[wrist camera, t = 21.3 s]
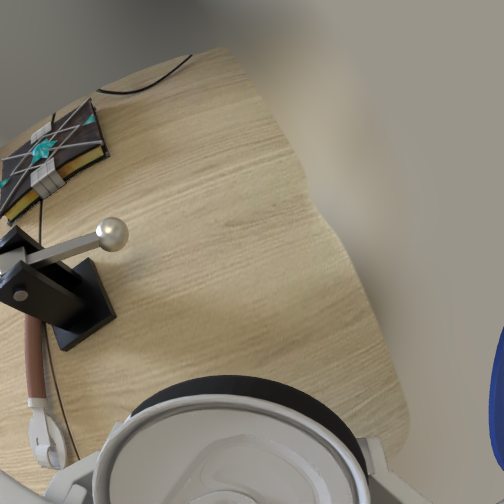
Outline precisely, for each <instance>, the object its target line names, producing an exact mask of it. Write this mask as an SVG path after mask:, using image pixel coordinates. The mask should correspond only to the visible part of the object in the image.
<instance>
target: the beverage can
mask: <svg viewBox="0 0 504 504" xmlns="http://www.w3.org/2000/svg"><path fill="white" fill-rule="evenodd" d="M368 486H369V481H368V472H367V466H366V461H365V458H364V455H363V453H362V450H361V448H360V446H359V444H358V442H357V440H356V438H355V437H354V435H353V434H352V432H351V431H350V429H349V428H348V427H347V426H346V424H345V423H344V422H343V421H342V420H341V419H340V418H339V417H338V416H337V415H336V414H335V413H334V412H333V411H332V410H330V409H329V408H328V407H326V406H325V405H324V404H322V403H321V402H319V401H318V400H316V399H315V398H313V397H311V396H310V395H308V394H306V393H304V392H302V391H300V390H297V389H295V388H293V387H290V386H288V385H285V384H282V383H279V382H275V381H271V380H267V379H262V378H258V377H251V376H240V375H218V376H208V377H201V378H196V379H192V380H188V381H184V382H181V383H178V384H175V385H173V386H170V387H168V388H166V389H164V390H162V391H159V392H158V393H156V394H155V395H153V396H151V397H150V398H148V399H147V400H145V401H144V402H143V403H142V404H140V405H139V406H138V407H137V408H136V409H135V410H134V411H133V412H132V413H131V414H130V415H129V417H128V418H127V419H126V421H125V422H124V423H123V424H122V425H121V426H120V427H119V428H118V429H117V430H116V431H115V432H114V433H113V434H112V435H111V436H110V438H109V439H108V440H107V442H106V443H105V445H104V446H103V448H102V450H101V452H100V454H99V456H98V459H97V461H96V464H95V469H94V473H93V480H92V487H93V500H94V504H371V502H370V492H369V489H368Z"/></svg>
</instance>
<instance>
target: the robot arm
mask: <svg viewBox="0 0 504 504" xmlns="http://www.w3.org/2000/svg"><path fill="white" fill-rule="evenodd" d="M123 423H124V422H122V421H117V422H116V423H115V425H114V427H113V429H112V431H111V433H110V434H109V436H108V438H107V440H108V439H109V438H110V436H111V435H112V434H113V433H114V432H115V431H116V430H117V429H118V428H119V427H120V426H121V425H122V424H123ZM107 440H106V442H107ZM356 440H357V442H358V444H359V446H360V448H361V450H362V453H363V455H364V458H365V461H366V466H367V472H368V481H369V486H368V489H369V492H370V502H371V504H432V502H431V501H429V500H428V499H427V498H426V497H424V496H423V495H422V494H420V493H419V492H418V491H417V490H415V489H414V488H413V487H412V486H410V485H409V484H408V483H407V482H405V481H404V480H403V479H402V478H401V477H399V476H398V475H397V474H395V473H394V472H393V471H388V467H387V463H386V459H385V455H384V451H383V448H382V444H381V440H380V438H379V437H378V436H374V437H367V438H357V439H356ZM106 442H105V443H106ZM104 445H105V444H104ZM100 452H101V451H99V450H97V451H95V452H94V453H92V454H90V455H88V456H87V457H85V458H83V459H81V460H79V461H77V462H76V463H74V464H72V465H70V466H68V467H66V468H64V469H62V470H60V471H59V472H57V473H55V475H54V476H53V478H52V480H51V482H50V484H49V485H48V487H47V489H46V491H45V493H44V495H43V497H42V496H40V495H39V494H37V493H35V492H34V491H32V490H30V489H29V488H27V487H26V486H24V485H23V484H21V483H20V482H18V481H16V480H15V479H14V478H12V477H11V476H9V475H8V474H6V473H5V472H4V471H2V470H1V469H0V504H94V500H93V487H92V480H93V473H94V469H95V464H96V461H97V459H98V456H99V454H100ZM497 504H504V500H502V501H500V502H499V503H497Z"/></svg>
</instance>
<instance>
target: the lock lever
mask: <svg viewBox="0 0 504 504" xmlns="http://www.w3.org/2000/svg"><path fill="white" fill-rule="evenodd" d="M128 237H129V232H128V228H127V226H126V224H125V223H124V222H123V221H122V220H121V219H119V218H115V217H109V218H106V219H104V220H103V221H102V222H101V223H100V224H99V225H98V227H97V230H96V232H93V233H90V234H87V235H84V236H81V237H78V238H75V239H72V240H69V241H66V242H63V243H60V244H57V245H54V246H51V247H49V248H46V249H43V250H40V251H38V252H35V253H32V254H29V255H27V254H26V251H25V249H24V247H23V246H22V247H20V248H17V249H14V250H12V251H9V252H6V253H4V254H1V255H0V276H1V277H2V276H3V275H4V274H6V273H7V272H8V271H9V270H10V269H11V268H12V267H13V266H14V265H15V264H16V263H18V262H19V261H20V260H22V261H24V262H25V263H26V264H28V265H29V266H31V267H32V268H34V269H35V270H36V269H38V268H41V267H44V266H47V265H49V264H52V263H55V262H58V261H60V260H63V259H66V258H69V257H72V256H75V255H77V254H80V253H83V252H86V251H89V250H92V249H95V248H98V247H101V248H102V249H103V250H105V251H108V252H116V251H119V250H121V249H122V248H123V247H124V246H125V245H126V243H127V241H128Z"/></svg>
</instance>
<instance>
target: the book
mask: <svg viewBox="0 0 504 504" xmlns="http://www.w3.org/2000/svg"><path fill="white" fill-rule="evenodd" d="M91 100H92V99H91V97H89V98H88V99H87V100H86V101H85V102H84V103H83V104H82V105H81V106H79V107H77V108H76V109H74V110H73V111H71V112H70V113H68V114H67V115H65V116H64V117H62V118H61V119H59V120H58V121H56V122H55V123H53V124H52V123H51V122H49V123H48V124H46V125H45V126H44V127H42V128H41V129H39V130H38V131H37V132H35V133H34V134H33V135H31V140H29V141H28V142H27V143H25V144H24V145H23V146H21V147H20V148H19V149H17V150H16V151H15V152H14V153H12V154H11V155H10V156H9V157H7V158H4V159H2V160H1V161H2V162H3V169H2V181H0V188H1V199H0V219H1V218H2V216H4V215H5V216H6V217H7V218H8V222H7V225H9V226H10V227H11V226H12V224H13V222H14V220H15V219H17V218H18V217H19V216H20V215H21V214H22V213H23V212H25V211H26V210H27V209H28V208H29V207H30V206H32V205H33V204H34V203H35V202H37V201H38V200H39V199H40V198H42V199H43V200H44V199H45V198H46V197H48V196H49V195H50V194H52V193H53V192H54V191H56V190H57V189H59V188H60V187H62V186H63V185H64V184H66V181H65V180H66V179H68V178H69V177H70V176H72V175H73V174H75V173H76V172H78V171H80V170H82V169H83V168H85V167H87V166H89V165H90V164H92V163H94V162H96V161H98V160H99V159H101V158H103V157H109V156H110V154H109V152H108V150H107V147H106V145H105V142H104V139H103V135H102V132H101V129H100V126H99V123H98V120H97V116H96V112H95V111H96V110H97V109H96V107H93V105H92V103H91Z"/></svg>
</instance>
